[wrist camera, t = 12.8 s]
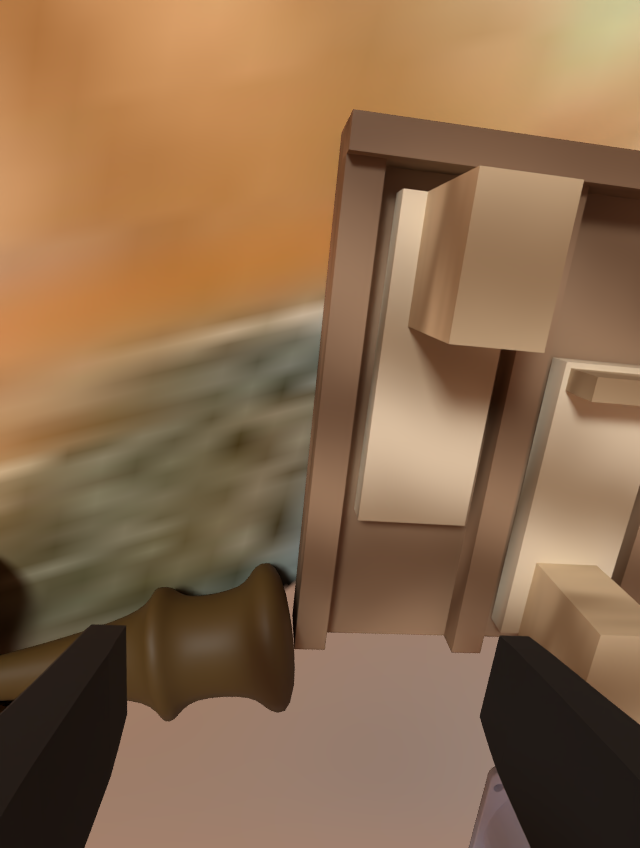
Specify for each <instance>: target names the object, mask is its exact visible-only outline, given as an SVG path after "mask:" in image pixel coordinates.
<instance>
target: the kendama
mask: <svg viewBox="0 0 640 848" xmlns="http://www.w3.org/2000/svg"><path fill="white" fill-rule="evenodd" d="M104 625H126V653H127V701H133V702H138V703H142V704H144V705H147V706H149V707H151V708H152V709H153V710H154V711H156V712H157V713H158V714H159V716H160V717H161V718H162V719H163V720H165V721H171V720H173V719H175V718H176V717H177V716H178V714H179V713H180V712H181V711H182V710H183V709H184V708H185V707H187V706H188V705H189V704H191V703H193V702H195V701H198V700H203V699H207V698H214V697H245V698H250V699H253V700H256V701H258V702H259V703H261V704H262V705H264V706H265V707H266V708H268V709H269V710H271V711H274V712H282V711H285V709H286V708H287V706H288V705H289V703H290V699H291V695H292V691H293V686H294V668H295V667H294V645H293V634H292V626H291V619H290V613H289V608H288V602H287V597H286V593H285V590H284V587H283V584H282V581H281V578H280V576H279V574H278V572H277V571H276V569H275V568H274V567H273V566H272V565H271V564H269V563H265V564H260V565H259V566H257V567H256V568H255V569H254V570H253V572H252V573H251V575H250V576H249V577H248V579H247V580H246V581H245V582H244V583H242V584H241V585H240V586H238V587H236V588H233V589H231V590H227V591H223V592H220V593H215V594H209V595H201V596H189V595H184V594H181V593H179V592H178V591H176V590H175V589H173V588H169V587H161V588H158V589H156V590H155V592H154V593H153V595H152V596H151V598H150V599H149V600H148V602H147V603H146V604H145V605H144V606H142V607H141V608H140V609H139V610H137V611H135V612H133V613H131V614H129V615H127V616H125V617H123V618H120V619H118V620H115V621H113V622H110V623H107V624H104ZM83 632H84V631H83ZM83 632H80V633H77V634H74V635H70V636H67V637H64V638H60V639H57V640H54V641H50V642H47V643H43V644H40V645H36V646H33V647H29V648H25V649H22V650H18V651H14V652H11V653H7V654H3V655H0V701H5V700H15V699H16V698H17V697H18V696H19V695H20V694H21V693H22V692H23V691H24V690H25V689H26V688H28V687H29V686H30V685H31V684H32V683H33V682H34V681H35V680H36V679H37V678H38V677H39V676H40V675H41V674H42V673H43V672H44V671H45V670H46V669H47V668H48V667H49V666H50V665H51V664H52V663H53V662H54V661H55V660H56V659H57V658H58V657H59V656H60V655H61V654H62V653H63V652H64V651H65V650H66V649H67V648H68V647H69V646H70V645H71V644H72V643H73V642H74V641H75V640H76V639H77V638H78V637H79V636H80V635H81V634H82V633H83ZM5 708H6V707H5V706H3V705H0V713H1V712H2V711H3V710H4V709H5Z"/></svg>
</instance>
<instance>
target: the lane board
mask: <svg viewBox="0 0 640 848" xmlns="http://www.w3.org/2000/svg"><path fill="white" fill-rule="evenodd" d="M478 166H488V167H495V168H502V169H510V170H517V171H524V172H532V173H539V174H546V175H554V176H561V177H568V178H576V179H583V180H584V183H583V187H582V191H581V196H580V200H579V204H578V209H577V213H576V217H575V222H574V226H573V230H572V235H571V239H570V243H569V248H568V252H567V256H566V261H565V265H564V269H563V274H562V278H561V282H560V287H559V291H558V295H557V300H556V304H555V308H554V313H553V317H552V322H551V326H550V330H549V335H548V339H547V343H546V348H545V352H544V353H539V352H528V351H518V350H507V349H501V351H500V356H499V361H498V365H497V370H496V375H495V380H494V385H493V390H492V395H491V399H490V404H489V409H488V414H487V419H486V424H485V429H484V434H483V438H482V443H481V448H480V453H479V458H478V463H477V468H476V472H475V477H474V482H473V487H472V492H471V497H470V502H469V507H468V511H467V516H466V521H465V526H458V525H438V524H419V523H400V522H380V521H361V520H358V519H357V516H356V513H355V510H354V507H355V500H356V492H357V485H358V477H359V470H360V463H361V455H362V448H363V440H364V433H365V425H366V418H367V410H368V403H369V395H370V388H371V381H372V373H373V366H374V358H375V351H376V343H377V336H378V328H379V321H380V313H381V306H382V299H383V291H384V284H385V276H386V269H387V261H388V254H389V246H390V239H391V231H392V224H393V216H394V209H395V202H396V194H397V192H399V191H400V190H402V189H412V190H419V191H427V192H428V191H430V190H432V189H434V188H436V187H438V186H440V185H442V184H444V183H446V182H448V181H450V180H452V179H454V178H456V177H458V176H460V175H462V174H464V173H466V172H468V171H470V170H472V169H474V168H476V167H478ZM553 357H555V358H566V359H577V360H588V361H598V362H609V363H620V364H631V365H640V151H638V150H631V149H624V148H617V147H610V146H603V145H596V144H589V143H583V142H576V141H569V140H562V139H555V138H548V137H541V136H534V135H527V134H520V133H514V132H507V131H500V130H493V129H486V128H479V127H472V126H465V125H458V124H451V123H445V122H438V121H431V120H424V119H417V118H410V117H403V116H396V115H389V114H382V113H376V112H369V111H362V110H355V109H353V111H352V113H351V115H350V117H349V119H348V121H347V123H346V125H345V127H344V129H343V131H342V135H341V145H340V155H339V165H338V174H337V184H336V194H335V204H334V214H333V223H332V233H331V243H330V253H329V263H328V272H327V282H326V292H325V302H324V312H323V321H322V331H321V341H320V351H319V361H318V370H317V380H316V390H315V400H314V409H313V419H312V429H311V439H310V449H309V458H308V468H307V478H306V488H305V498H304V507H303V517H302V527H301V537H300V547H299V556H298V566H297V576H296V586H295V596H294V606H293V615H292V616H293V632H294V633H293V635H294V649H317V650H319V649H321V650H324V649H325V643H326V635H327V632H338V633H375V634H411V635H412V634H413V635H444V637H445V639H446V641H447V643H448V645H449V648H450V650H451V652H453V653H480V651H481V647H482V643H483V638H484V636H488V637H499V636H500V635H507V636H518V633H500V631H499V630H498V628H497V626H496V625H495V623H494V622H493V620H492V618H491V617H492V613H493V609H494V605H495V600H496V596H497V592H498V588H499V583H500V579H501V575H502V571H503V567H504V562H505V558H506V554H507V550H508V545H509V541H510V537H511V533H512V528H513V524H514V520H515V516H516V512H517V507H518V503H519V499H520V495H521V490H522V486H523V482H524V478H525V473H526V469H527V465H528V461H529V456H530V452H531V448H532V444H533V440H534V435H535V431H536V427H537V423H538V418H539V414H540V410H541V406H542V401H543V397H544V393H545V389H546V385H547V380H548V376H549V372H550V368H551V363H552V359H553ZM611 579H612V580H613V581H614V582H615V583H616V584H618V585H619V586H620V587H621V588H622V589H623V590H624V591H625V592H626V593H627V594H628V595H629V596H631V597H632V598H633V599H634V600H635V601H636V602H637V603H638V604H639V605H640V486H639V489H638V492H637V496H636V499H635V502H634V505H633V509H632V512H631V515H630V518H629V521H628V525H627V528H626V531H625V534H624V538H623V541H622V544H621V547H620V551H619V554H618V557H617V560H616V564H615V567H614V570H613V573H612V577H611Z"/></svg>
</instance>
